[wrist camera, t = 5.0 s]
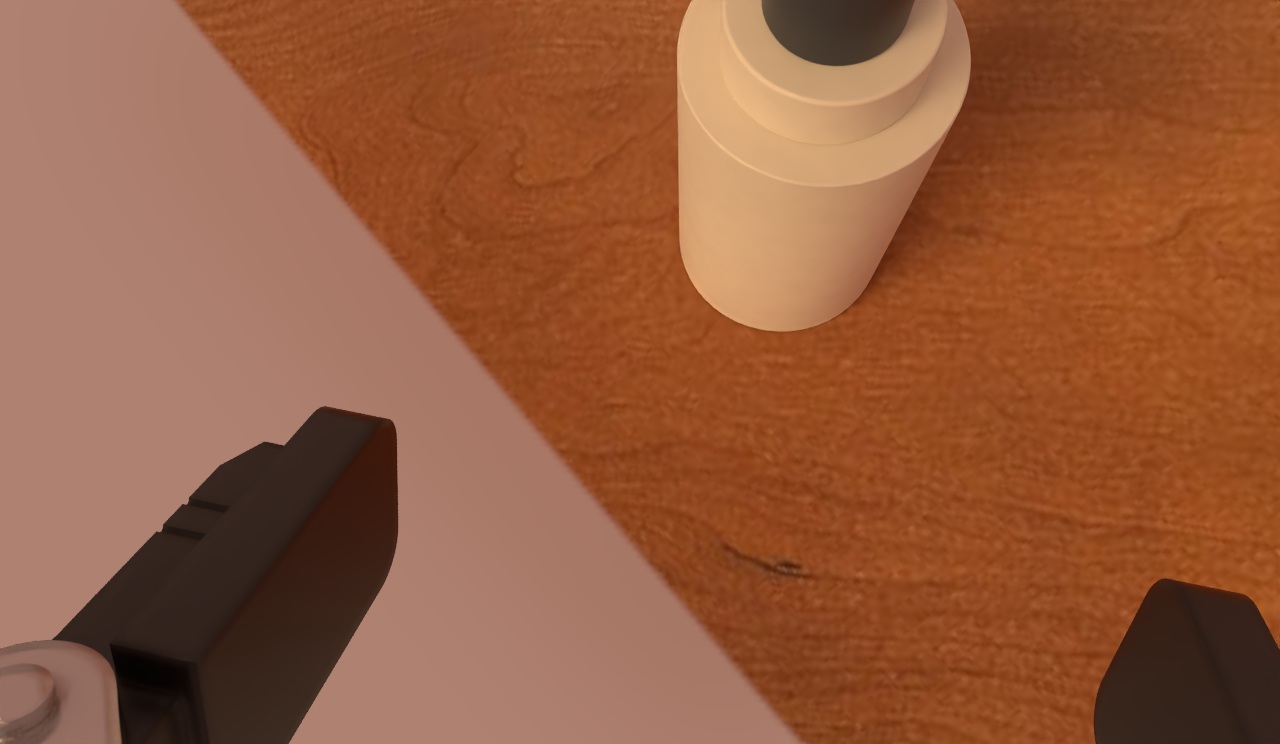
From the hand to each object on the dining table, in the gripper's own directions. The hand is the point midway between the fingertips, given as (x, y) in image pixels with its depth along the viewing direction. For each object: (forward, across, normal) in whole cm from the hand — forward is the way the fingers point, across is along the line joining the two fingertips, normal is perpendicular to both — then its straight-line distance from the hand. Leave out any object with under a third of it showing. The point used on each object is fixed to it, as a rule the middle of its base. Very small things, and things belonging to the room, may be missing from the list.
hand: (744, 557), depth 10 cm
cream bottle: (+18, 0, +3) cm, 18 cm away
